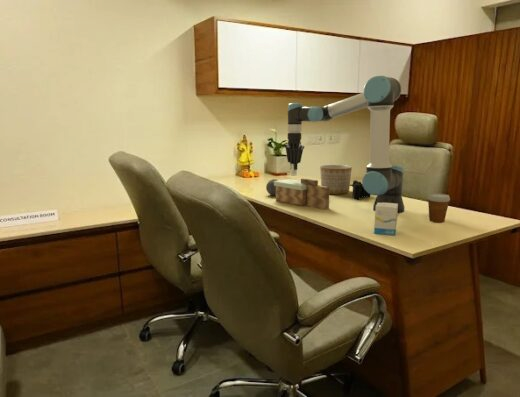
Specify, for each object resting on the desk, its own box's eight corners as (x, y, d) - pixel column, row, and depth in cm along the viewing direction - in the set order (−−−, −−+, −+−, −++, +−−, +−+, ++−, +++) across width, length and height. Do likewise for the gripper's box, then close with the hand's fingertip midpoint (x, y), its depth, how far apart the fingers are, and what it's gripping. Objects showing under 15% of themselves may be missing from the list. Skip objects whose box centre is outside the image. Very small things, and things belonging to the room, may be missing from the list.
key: (317, 184, 209) (317, 180, 208) (314, 185, 207) (314, 180, 207) (303, 182, 216) (303, 178, 215) (300, 183, 214) (300, 178, 214)
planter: (317, 194, 244) (317, 168, 240) (322, 189, 262) (323, 164, 258) (348, 196, 238) (349, 169, 234) (352, 190, 255) (353, 165, 252)
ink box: (395, 235, 159) (397, 207, 156) (373, 233, 162) (375, 205, 159) (396, 230, 166) (398, 203, 164) (375, 228, 169) (377, 201, 167)
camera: (371, 200, 225) (372, 183, 223) (352, 200, 227) (352, 182, 225) (369, 195, 239) (370, 179, 236) (351, 195, 241) (352, 179, 238)
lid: (315, 187, 216) (315, 183, 216) (301, 190, 209) (301, 185, 208) (287, 183, 231) (287, 179, 231) (273, 185, 224) (273, 181, 224)
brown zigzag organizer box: (332, 207, 208) (333, 186, 205) (321, 210, 202) (322, 188, 200) (286, 198, 232) (286, 179, 230) (275, 200, 226) (275, 181, 224)
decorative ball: (264, 196, 239) (264, 180, 237) (268, 193, 248) (268, 177, 246) (280, 197, 236) (280, 180, 234) (284, 194, 245) (284, 178, 243)
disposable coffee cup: (421, 221, 180) (423, 195, 177) (430, 217, 186) (432, 192, 184) (443, 225, 173) (445, 198, 171) (451, 221, 180) (454, 195, 177)
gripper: (308, 132, 212) (307, 176, 217) (290, 131, 221) (290, 173, 226) (298, 133, 207) (297, 177, 212) (281, 132, 216) (280, 174, 221)
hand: (293, 175), depth 219 cm, fingers closed
